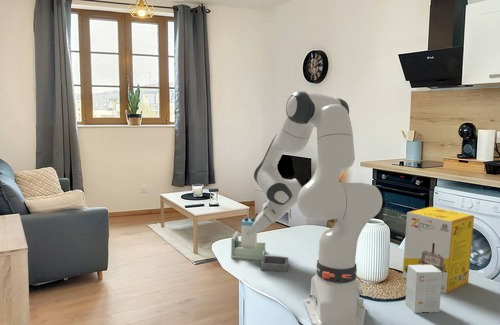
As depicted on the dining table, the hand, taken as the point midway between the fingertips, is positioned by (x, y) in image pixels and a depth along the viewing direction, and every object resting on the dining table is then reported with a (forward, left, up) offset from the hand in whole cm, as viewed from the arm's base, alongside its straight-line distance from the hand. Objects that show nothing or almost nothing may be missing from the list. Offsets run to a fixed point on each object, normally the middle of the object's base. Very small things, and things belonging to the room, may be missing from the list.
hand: (248, 231), depth 171 cm
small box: (-38, -60, -10) cm, 72 cm away
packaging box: (-14, -71, -10) cm, 73 cm away
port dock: (0, 0, -10) cm, 10 cm away
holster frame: (-12, -12, -10) cm, 20 cm away
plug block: (0, 0, -9) cm, 9 cm away
